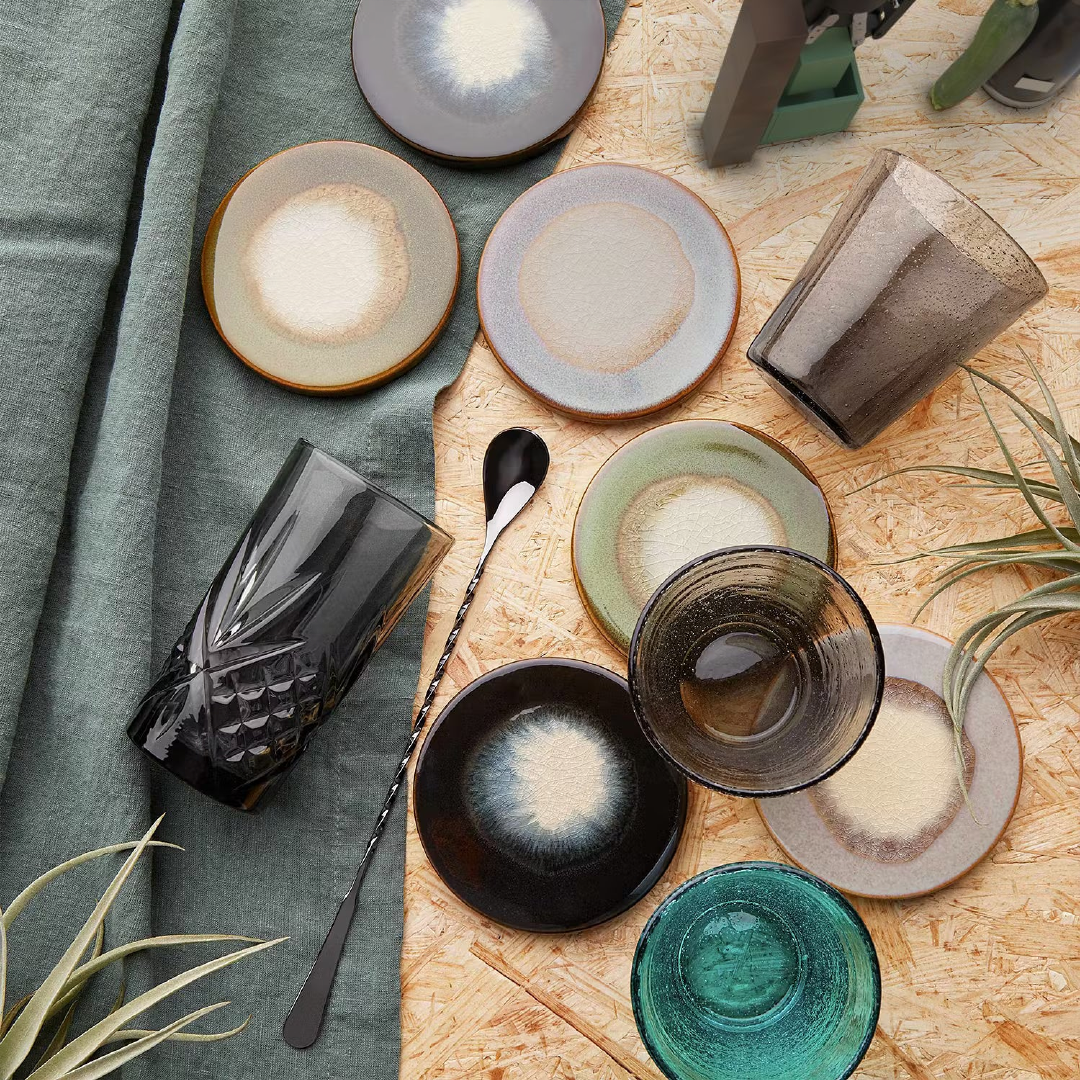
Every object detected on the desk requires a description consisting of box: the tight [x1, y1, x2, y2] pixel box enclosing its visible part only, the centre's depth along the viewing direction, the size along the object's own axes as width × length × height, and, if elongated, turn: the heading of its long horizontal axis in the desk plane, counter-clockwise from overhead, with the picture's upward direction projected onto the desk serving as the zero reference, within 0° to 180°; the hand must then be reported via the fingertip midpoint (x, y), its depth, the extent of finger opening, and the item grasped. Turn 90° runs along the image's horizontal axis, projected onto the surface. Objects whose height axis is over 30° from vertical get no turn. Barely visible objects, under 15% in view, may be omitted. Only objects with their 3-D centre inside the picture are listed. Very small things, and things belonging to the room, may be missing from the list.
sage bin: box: [758, 53, 866, 146], centre depth 93 cm, size 9×9×6 cm
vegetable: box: [929, 0, 1039, 110], centre depth 86 cm, size 4×4×20 cm
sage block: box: [785, 26, 855, 96], centre depth 89 cm, size 5×5×5 cm
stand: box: [699, 0, 809, 170], centre depth 85 cm, size 4×4×20 cm
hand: (807, 65), depth 91 cm, fingers closed on sage block, 5 cm apart
